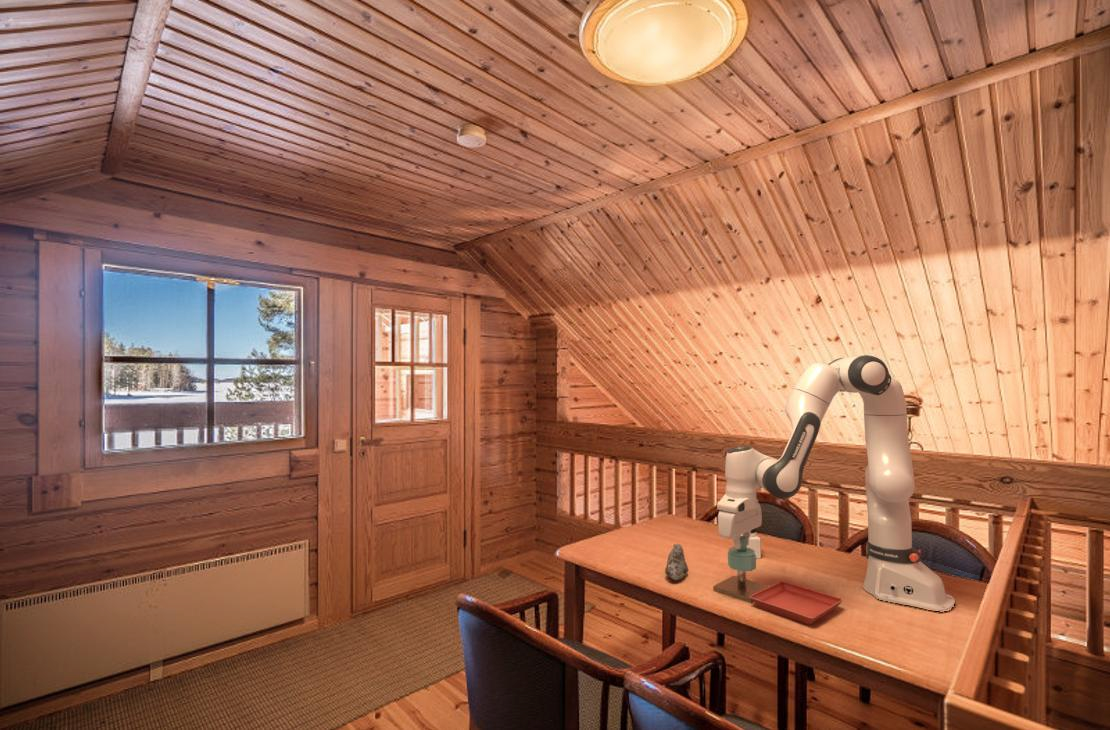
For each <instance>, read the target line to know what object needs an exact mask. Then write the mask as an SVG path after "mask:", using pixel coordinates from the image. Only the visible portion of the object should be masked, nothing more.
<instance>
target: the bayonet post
mask: <svg viewBox="0 0 1110 730" xmlns="http://www.w3.org/2000/svg"><path fill="white" fill-rule="evenodd" d="M736 571H737V572H736V573H737V576H736V575H732V576H729V577H727V578H726V579H723V580H722V581H720V582H718V583H717V584H714V585H713V587H712V588H713V592H715V593H718V594H721V595H724V596H728V597H731V598H732V599H733V598H734V599H737V600H740V601H743V602H746V603H749V604H752V603H754V602H753V601H752V599H751V598H750V596H751V595H753V594H755V593H757V592H760V591H762V590H764V589H766V588H768V587H770V586H771V585H767V584H764V583H761V582H757V581H754V580H750V579H747V571H738V570H736Z"/></svg>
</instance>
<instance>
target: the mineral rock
mask: <svg viewBox="0 0 1110 730" xmlns="http://www.w3.org/2000/svg"><path fill="white" fill-rule="evenodd" d="M664 570H665V571H664V573H665V575H666V576H668V577H670V579H671V580H673V581H678V580H681V579H683V578H684V577H686V576H687V575H688V572H689V566H688V564H687V562H686V558H685V552H684V549H683V546H682V545H681V543H673V548H672V550H671V551H670V552H669V553H668V557H667V561H666V567H665V569H664Z"/></svg>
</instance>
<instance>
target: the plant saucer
mask: <svg viewBox="0 0 1110 730" xmlns="http://www.w3.org/2000/svg"><path fill="white" fill-rule="evenodd" d="M769 586H770V587H768V588H766V589H764V590H762V591H760V592H757V593H755V594H753V595H751V596H750V598H751V599H752V601H753V603H754V604H755V605H756V606H757V608H760V609H763V610H765V611H767V612H770V613H771V612H772V613H774V614H776V615H779V616H783V617H785V618H788V619H790V620H794V621H796V622H799V623H802V624H804V625H811V624H814V623H816V622H817V621H818V620H819V619H822V618H823V617H824V616H826V615H828V614H830V613H831V612H833V611H834V610H835V609H837V608H838V607H839V606H840V604H841V603H842V602H843V598H840V597H836V596H833V595H830V594H828V593H823V592H821V591H816V590H814V589H810V588H808V587H804V586H800V585H797V584H794V583H791V582H787V581H778V582H776V583H774V584H772V585H769Z"/></svg>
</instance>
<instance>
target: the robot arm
mask: <svg viewBox="0 0 1110 730" xmlns="http://www.w3.org/2000/svg"><path fill="white" fill-rule="evenodd" d="M839 392H846V393H854V394H855V393H857V394H859V395H860V397H861V399H862V401H863V402H862V403H863V421H864V440H865V448H866V455H867V463H868V464H867V466H866V467H865V471H864V477H865V483H864V484H865V495H866V496H865V497H866V507H867V535H868V536H867V537H868V540H867V541H866V550H865V553H866V559H867V567H866V574H865V577H864V582H863V584H862V588H863V589H864V590H865V591H866V592H867V593H869V594H870V595H872V596H874V598H875V599H876V600H878V599H879V600H878V601H880V600H883V601H882V602H885V601H888V602H887V603H890V602H894V603H893V604H895V603H900V604H906V605H912V606H917V607H922V608H927V609H932V610H938V611H943V610H948V609H950V608H952V607H953V606H954V604H955V605H956V600H955V598H954V597H953V596H952V595H950V594H948V593H946V590H945V585H944V581H943V580H942V578H941V577H940V576H939V575H938V574H936V573H935V572H934V571H933V570H931V568H929V567H928V566H927V565H925V564H924V563H923V562H922V561H921V554H922V553H921V551H922V550H921V549H919V550H917V549H916V548H915V547H914V546H913V539H912V536H913V535H912V533H913V532H912V515H911V512H910V510H911V509H910V504H909V503H910V501H909V499H910V498H911V497H912V496H913V494H914V491H915V489H916V488H915V487H916V485H915V483H916V482H915V476H914V475H915V474H914V467H913V459H912V453H911V449H910V441H909V426H908V414H907V413H908V410H907V403H906V398H905V393H904V389H903V386H902V384H901V382H900V381H899V380H897V379H895V378H893V377H892V376H891V374H890V371H889V369H888V366H887V365H886V363H885V362H884V361H883V360H882V359H880V358H879V357H876V356H872V355H869V354H868V355H867V354H866V355H865V354H864V355H859V354H858V355H849V356H845V357H839V358H837V359H834V360H833V361H831V362H829V363H824V362H814V363H811V364H810V365H809V366H808V367H807V368H806V369H804V372H802V375H800V377H799V378H798V380H797V381H796V383H795V384H794V386H793V388H792V390H791V392H790V394H789V396H788V398H787V400H786V403H785V408H784V410H785V412H786V413H785V414H786V416H787V418H788V419H789V421H790V423H791V427H792V428H791V434H790V437H789V439H788V441H787V443H786V446H785V448H784V450H783V452H782V455H781V456H780V458H779V459H777V458H775V457H772V456H769V455H766V454H764V453H761V452H759V451H758V450H756V449H754V448H753V446H749V445H740V446H734V447H732V448H730V449H729V450H728V451H727V453H726V455H725V464H724V465H725V466H724V476H725V480H726V481H725V482H726V484H725V485H726V486H725V491H724V492H725V494H724V495H723V497H722V498H721V499H720V500H718V501H717V505H716V507H717V508H716V509H717V510H718V514H717V526H718V534H719V537H720V538H724V539H728V540H731V539H732V541H733V547H734V548H735V549H741V548H742V543H741V542H740V537H741V534H743V536H745V537H746V543H747V545H749V538H750V535H751V530H752V529H755V528H756V529H757V528H759V527H761V526H762V522H763V517H762V515H763V514H762V507H761V504H760V503H759V499H758V498H757V490H758V489H761V488H762V489H763V490H765V491H767V492H768V493H769V494H770V495H771V496H773V497H774V498H777V499H780V500H781V499H783V500H786V499H790V498H792V497H794V496H795V495H797V493H798V492H799V491H800V489H801V488H802V483H803V475H804V468H805V466H806V464H807V461H808V458H809V456H810V454H811V451H812V449H813V446H814V445H815V442H816V441H817V440H816V439H817V436H818V434H819V431H820V428H821V425H822V421H823V419H824V417H825V415H826V413H827V411H828V409H829V407H830V405H831V403H832V401H833V399H834V397H835V396H836V395H837V393H839ZM954 607H955V606H954Z"/></svg>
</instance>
